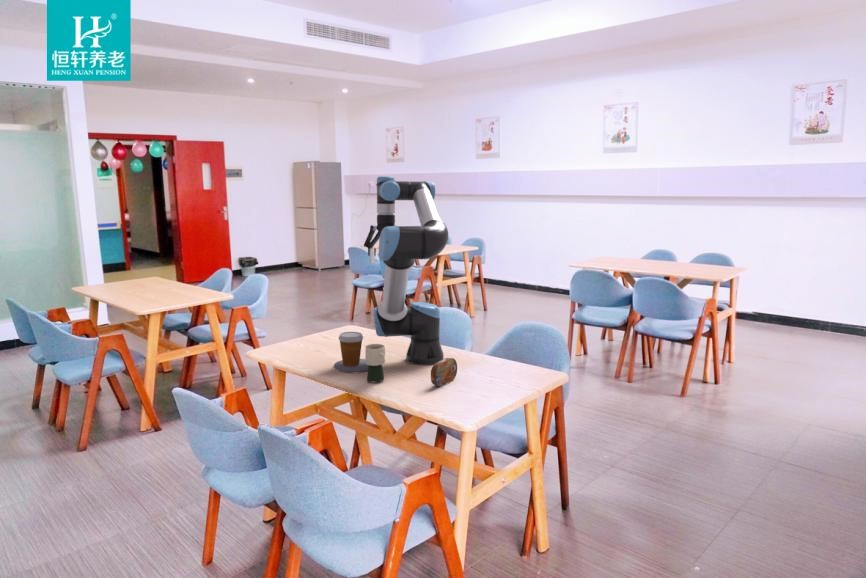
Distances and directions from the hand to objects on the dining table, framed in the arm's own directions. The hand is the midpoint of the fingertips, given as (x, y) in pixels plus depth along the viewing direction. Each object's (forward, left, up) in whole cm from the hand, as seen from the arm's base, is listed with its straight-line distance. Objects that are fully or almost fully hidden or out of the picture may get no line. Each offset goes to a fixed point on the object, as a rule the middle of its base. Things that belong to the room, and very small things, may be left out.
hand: (386, 264), depth 250 cm
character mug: (-17, +40, -37) cm, 57 cm away
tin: (-40, +31, -37) cm, 63 cm away
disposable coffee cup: (0, +29, -36) cm, 46 cm away
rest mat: (-1, +28, -37) cm, 46 cm away
